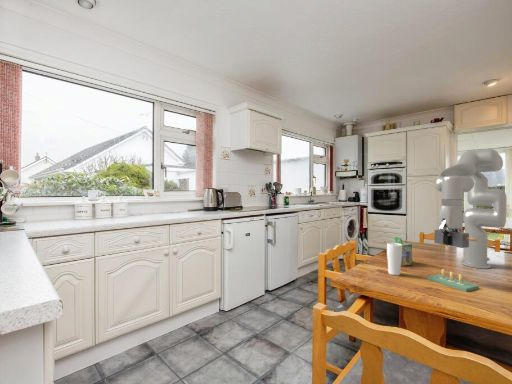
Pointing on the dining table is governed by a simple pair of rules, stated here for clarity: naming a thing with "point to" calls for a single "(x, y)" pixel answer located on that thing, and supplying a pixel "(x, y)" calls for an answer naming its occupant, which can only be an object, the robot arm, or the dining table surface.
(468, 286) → the header strip
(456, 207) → the robot arm
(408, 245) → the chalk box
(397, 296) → the dining table surface
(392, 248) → the white cup
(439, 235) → the block
